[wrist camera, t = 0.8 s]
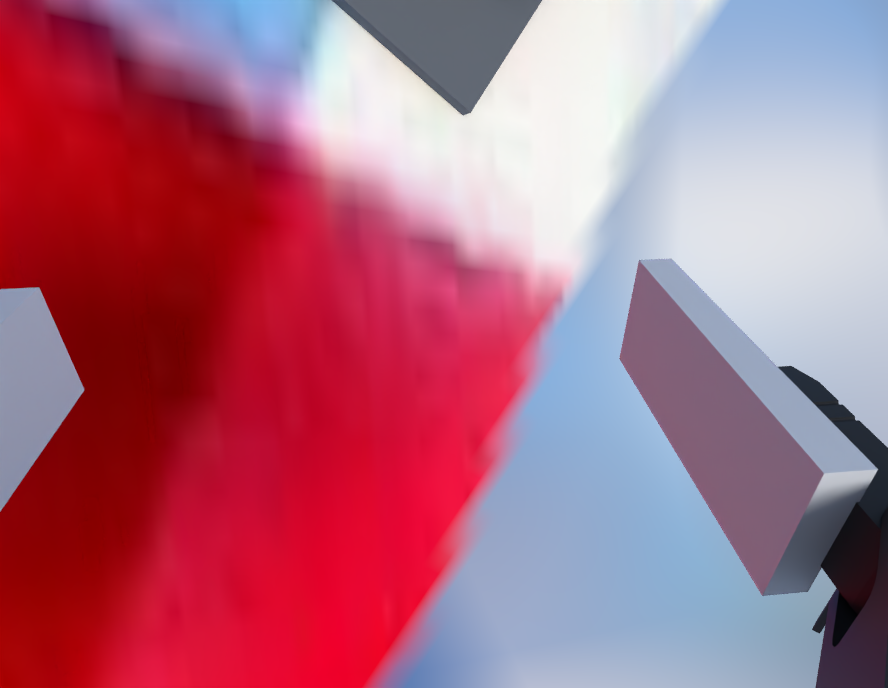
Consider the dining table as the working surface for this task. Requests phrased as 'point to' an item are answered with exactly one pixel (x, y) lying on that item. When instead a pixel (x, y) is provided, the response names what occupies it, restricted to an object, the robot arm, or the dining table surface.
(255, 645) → the dining table surface
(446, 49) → the mat
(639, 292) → the robot arm
